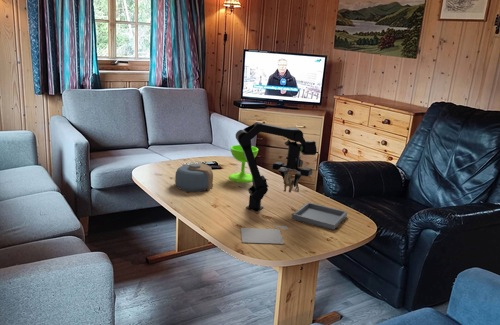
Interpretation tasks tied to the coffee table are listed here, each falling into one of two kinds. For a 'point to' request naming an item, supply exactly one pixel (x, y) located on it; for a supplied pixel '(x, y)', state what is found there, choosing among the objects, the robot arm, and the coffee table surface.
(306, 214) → the tray
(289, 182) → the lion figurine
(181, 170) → the alarm clock
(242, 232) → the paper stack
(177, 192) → the coffee table surface
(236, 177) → the wineglass
